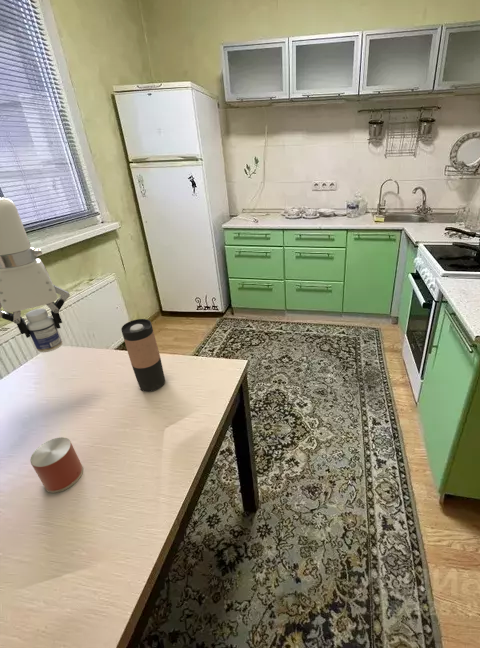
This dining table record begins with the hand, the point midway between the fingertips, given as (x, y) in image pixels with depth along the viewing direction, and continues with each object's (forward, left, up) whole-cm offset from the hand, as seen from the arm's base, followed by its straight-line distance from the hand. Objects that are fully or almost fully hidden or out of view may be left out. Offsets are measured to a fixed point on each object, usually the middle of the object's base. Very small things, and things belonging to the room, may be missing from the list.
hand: (43, 330), depth 78 cm
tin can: (+4, -23, -24) cm, 34 cm away
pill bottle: (0, 0, -5) cm, 5 cm away
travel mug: (+20, +3, -24) cm, 31 cm away
